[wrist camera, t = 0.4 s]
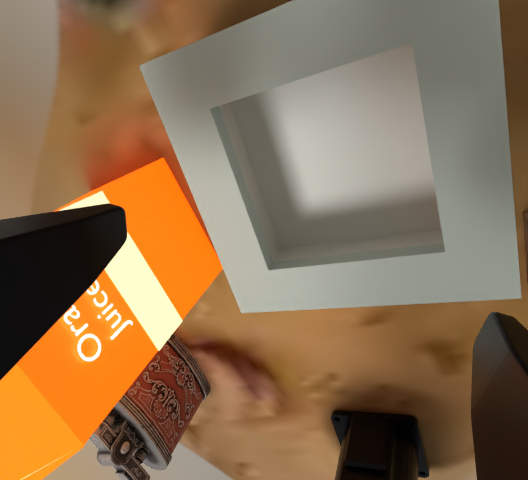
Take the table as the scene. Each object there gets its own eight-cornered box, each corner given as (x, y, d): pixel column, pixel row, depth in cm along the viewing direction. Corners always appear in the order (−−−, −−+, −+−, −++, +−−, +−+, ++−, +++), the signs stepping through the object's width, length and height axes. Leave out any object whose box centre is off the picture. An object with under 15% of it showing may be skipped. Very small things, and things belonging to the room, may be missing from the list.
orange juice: (149, 286, 32) (-134, 571, 16) (89, 190, 29) (-334, 415, 13) (226, 267, 28) (-43, 614, 12) (165, 155, 26) (-295, 408, 9)
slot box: (498, 230, 21) (521, 298, 16) (275, 257, 26) (241, 313, 22) (471, -55, 16) (492, -86, 11) (204, 53, 21) (139, 65, 17)
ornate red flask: (144, 330, 35) (60, 427, 27) (171, 324, 33) (90, 425, 25) (190, 395, 38) (126, 502, 29) (218, 392, 36) (157, 505, 28)
